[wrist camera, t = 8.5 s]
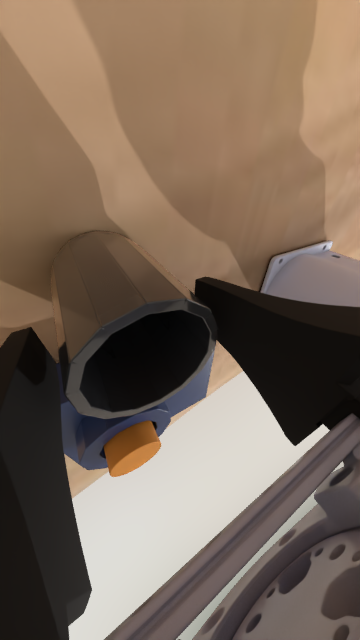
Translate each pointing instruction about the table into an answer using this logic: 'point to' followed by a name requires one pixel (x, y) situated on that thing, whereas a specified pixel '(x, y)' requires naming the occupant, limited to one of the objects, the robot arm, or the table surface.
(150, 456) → the button
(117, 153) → the table surface
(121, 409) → the pot
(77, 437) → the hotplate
